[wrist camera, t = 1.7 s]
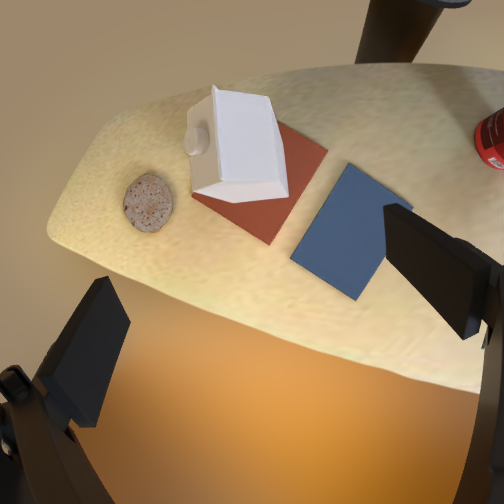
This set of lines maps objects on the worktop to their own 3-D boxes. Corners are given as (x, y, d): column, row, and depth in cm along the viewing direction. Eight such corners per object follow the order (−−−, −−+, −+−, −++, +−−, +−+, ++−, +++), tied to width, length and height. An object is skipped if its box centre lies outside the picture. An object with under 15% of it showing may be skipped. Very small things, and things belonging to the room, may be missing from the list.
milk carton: (283, 142, 38) (262, 75, 20) (289, 197, 39) (273, 172, 20) (227, 149, 40) (167, 94, 21) (232, 203, 40) (171, 186, 21)
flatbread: (118, 194, 43) (114, 194, 42) (158, 165, 42) (155, 163, 41) (141, 243, 43) (137, 243, 42) (184, 215, 41) (181, 215, 41)
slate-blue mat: (348, 163, 38) (348, 163, 37) (412, 207, 37) (413, 207, 36) (289, 258, 40) (289, 258, 39) (355, 300, 39) (355, 301, 38)
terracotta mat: (247, 107, 39) (247, 106, 39) (327, 151, 38) (328, 150, 38) (192, 196, 41) (191, 196, 41) (269, 245, 40) (269, 245, 40)
